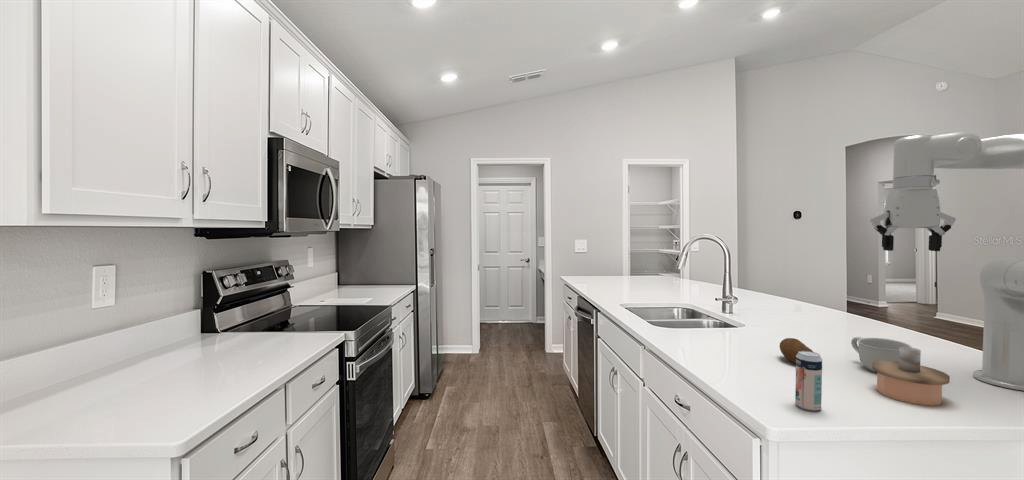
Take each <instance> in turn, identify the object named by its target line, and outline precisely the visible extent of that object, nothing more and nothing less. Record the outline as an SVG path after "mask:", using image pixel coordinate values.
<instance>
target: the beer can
mask: <svg viewBox="0 0 1024 480" xmlns="http://www.w3.org/2000/svg"><path fill="white" fill-rule="evenodd" d="M822 387H823V358H822V356H821V354H819V353H818V352H814V351H813V352H810V351H799V352H798V354H797V355H796V364H795V393H794V394H795V396H794V397H795V401H794V403H795V405H796V406H798V407H799V408H800V409H802V410H806V411H811V412H817V411H821V410H822V409H823V408H822V398H823V397H822V395H823V394H822V393H823V391H822V390H823V389H822Z"/></svg>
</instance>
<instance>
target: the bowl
mask: <svg viewBox="0 0 1024 480" xmlns="http://www.w3.org/2000/svg"><path fill="white" fill-rule="evenodd" d="M876 375H877V376H876V377H877V378H876V381H877V382H876V391H877V392H879V393H880V394H882V395H883V396H886V397H889V398H892V399H894V400H897V401H900V402H905V403H910V404H914V405H923V406H931V407H932V406H939V405H940V406H941V405H942V401H943V400H942V399H943V385H928V384H919V383H913V382H907V381H902V380H898V379H894V378H891V377H887V376H885V375H882V374H879V373H876Z"/></svg>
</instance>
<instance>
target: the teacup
mask: <svg viewBox="0 0 1024 480" xmlns="http://www.w3.org/2000/svg"><path fill="white" fill-rule="evenodd" d="M850 343H851V347H852V348H853V349H854V350H855V352H856V353H858V357H859V361H860V363H861V364H862V365H863V366H865V367H866V368H867V369H868V370H869V371H871V372H874V373H876V374H877V372H876V371H874V370H873V369H872V363H873V362H876V361H897V362H899V347H912V346H911V345H910V344H908V343H905V342H903V341H900V340H895V339H890V338H884V337H882V338H881V337H862V336H854V337H852V339H851V342H850Z"/></svg>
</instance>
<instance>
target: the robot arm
mask: <svg viewBox="0 0 1024 480" xmlns="http://www.w3.org/2000/svg"><path fill="white" fill-rule="evenodd" d="M892 169H893V170H892V171H893V172H892V173H893V175H892V190H888V192H887V196H886V200H885V204H884V210H883V213H881V214H878V215H877V216H876V215H875V216H874V217H871V218H870V220H869V221H870V223H871V225H872V226H873V227H874V228H873V229H874V230H875V231H876V232H878V233H879V235H880V236H881V247H882V249H883V251H886V252H887V251H888V252H892V251H894V246H895V245H894V242H895V241H894V240H895V239H894V238H895V237H894V235H893V233H894V232H895V231H897V229H926V230H927V231H928V232H929V233H930V234H931V235H930V234H929V235H928V251H931V252H941V248H942V245H943V236H945V235H946V233H947V232H948V231H949V230H951V229H952V226H953V225H954V223H955V222H956V220H957V219H956V218H955V217H954V216H951V215H949V214H946V213H944V212H941V204H940V198H939V194H938V190H937V189H936V188H934V187H935V186H936V185H940V182H941V180H940V179H938V178H937V179H936V178H935V176H934V175H935V169H946V170H948V169H951V170H952V169H953V170H955V169H957V170H958V169H959V170H968V169H971V170H975V169H978V170H979V169H980V170H981V169H984V170H1004V169H1005V170H1006V169H1007V170H1008V169H1009V170H1010V169H1012V170H1013V169H1014V170H1016V169H1017V170H1019V169H1020V170H1021V169H1022V170H1024V133H1014V134H1007V135H1000V136H994V137H988V138H981V137H980V136H978V135H977V134H975V133H973V132H969V131H956V132H948V133H943V134H936V135H929V134H918V135H908V136H904V137H903V136H902V137H900V138H898V139H897V140H895V142H894V145H893V168H892ZM942 220H943V221H944V222H943V224H942V225H941V226H940V224H941V221H942ZM881 221H883V222H882V223H883V225H882V223H881ZM979 283H980V284H979V285H980V288H981V291H982V295H983V307H984V308H983V309H984V310H983V311H984V312H983V334H982V335H983V336H982V338H983V339H982V360H981V361H982V363H981V364H982V366H981V369H976V370H973V371H972V377H973V378H975V379H976V380H978V381H981V382H984V383H986V384H990V385H992V386H997V387H1001V388H1004V389H1005V388H1006V389H1010V390H1011V389H1012V390H1017V391H1023V392H1024V257H1010V256H1009V257H999V258H994V259H991V260H990V261H988V262H987V263H985V264H984V265H983V266H982V267H981V270H980V272H979Z"/></svg>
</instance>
